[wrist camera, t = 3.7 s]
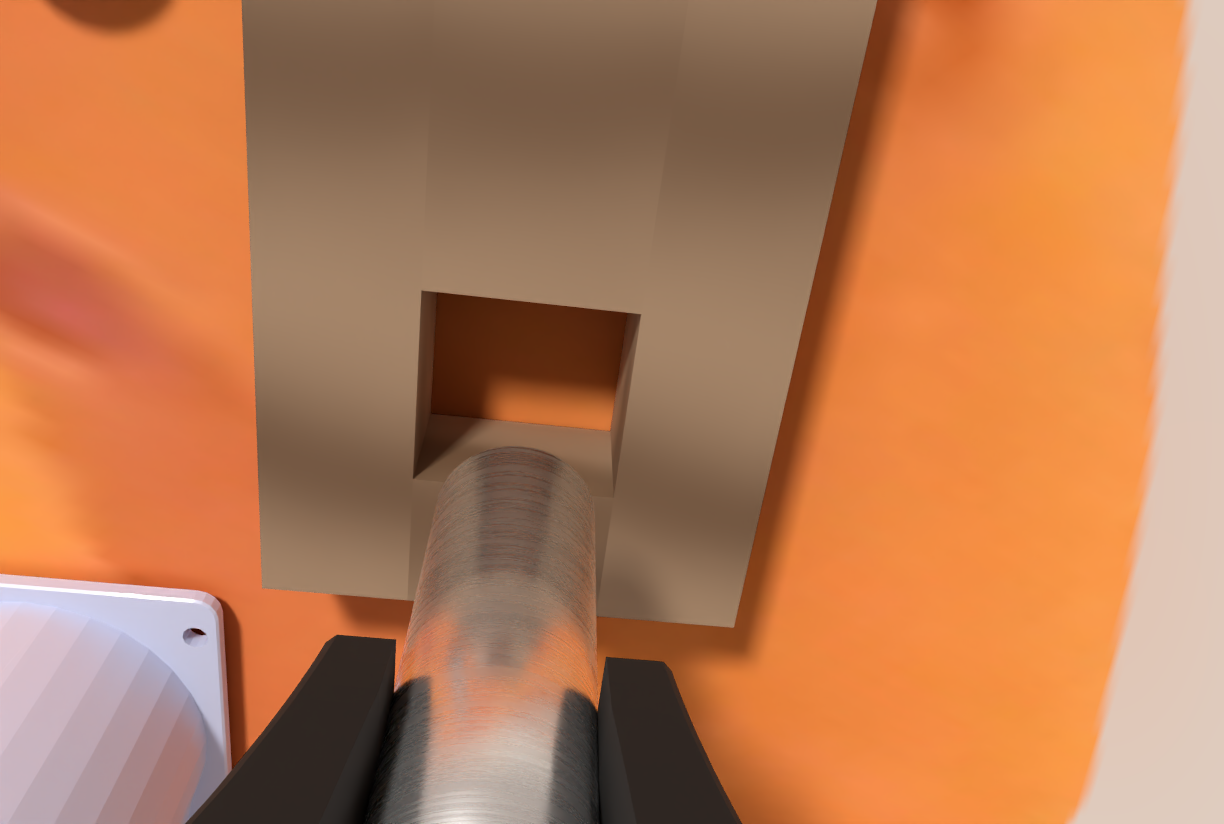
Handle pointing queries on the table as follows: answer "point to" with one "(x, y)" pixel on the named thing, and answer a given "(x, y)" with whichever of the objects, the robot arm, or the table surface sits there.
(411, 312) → the dock board
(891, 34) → the table surface
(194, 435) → the table surface
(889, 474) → the table surface
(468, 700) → the steel pin
